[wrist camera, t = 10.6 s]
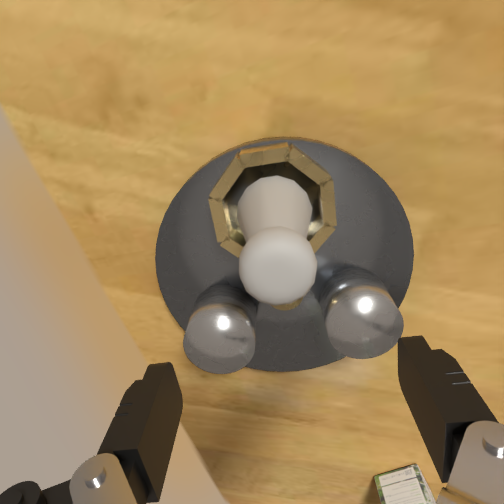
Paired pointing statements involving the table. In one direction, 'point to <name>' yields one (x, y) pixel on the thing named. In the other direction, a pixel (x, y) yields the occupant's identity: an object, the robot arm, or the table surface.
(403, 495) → the syrup box
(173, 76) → the table surface
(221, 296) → the carrier
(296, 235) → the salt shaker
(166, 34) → the table surface
